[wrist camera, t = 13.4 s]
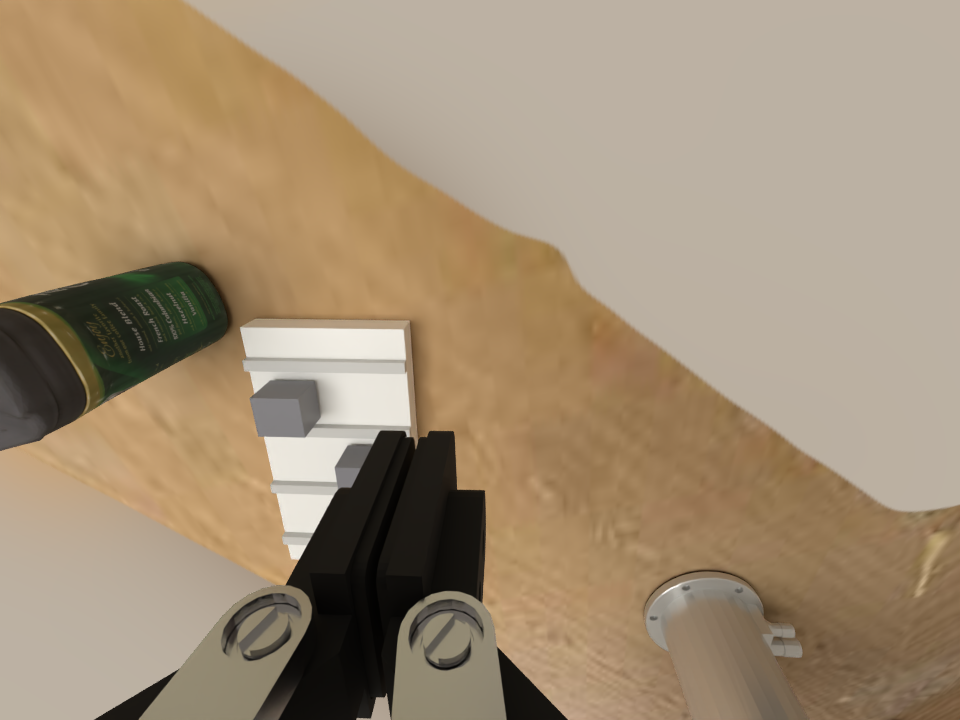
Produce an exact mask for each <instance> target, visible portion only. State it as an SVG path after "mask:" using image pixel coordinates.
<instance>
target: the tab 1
mask: <svg viewBox="0 0 960 720" xmlns="http://www.w3.org/2000/svg"><path fill="white" fill-rule="evenodd" d="M250 402H251V406H252V410H253V415H254V419H255V424H256V428H257V432H258V436H259V437H297V438H305V437H306V436H307V435H308V433H309V432H310V431H311V429H312V428H313V427H314V426H315V424H316V423H317V422H318V420H319V419H320V418H321V415H320V409H319V403H318V396H317V390H316V384H315V381H286V380H270V381H269V382H268V383H267V384H265V385H264V386H263V387H262V388H261V389H260V390H258V391H257V392H256V393H255V394H254V395H253V396H252V397H250Z"/></svg>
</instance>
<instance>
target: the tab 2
mask: <svg viewBox="0 0 960 720" xmlns="http://www.w3.org/2000/svg"><path fill="white" fill-rule="evenodd" d="M371 447H372V446H357V445H347V447H346V449H345V451H344V452H343V454H342V456H341V457H340V459H339V461H338V462H337V464H336V466H335V473H336V480H337V486H338V489H339V488H341V487H348V488H351V487H352V485H353V483H354V481H355V479H356V477H357V475H358V473H359V471H360V469H361V467H362V465H363V463H364V461H365V459H366V457H367V455H368V453H369V451H370V449H371Z"/></svg>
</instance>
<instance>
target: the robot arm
mask: <svg viewBox="0 0 960 720" xmlns="http://www.w3.org/2000/svg"><path fill="white" fill-rule="evenodd" d="M485 540H486V507H485V490H457V477H456V456H455V436H454V432H453V431H429V433H428V436H427V437H420V438H419V441H418V444H417V447H416V448H415V440H414V437H407V435H406V432H405V431H395V430H381V431H380V432H379V433H378V435H377V437H376V439H375V441H374V443H373V445H372V447H371V449H370V451H369V453H368V455H367V457H366V459H365V461H364V463H363V465H362V467H361V469H360V471H359V473H358V475H357V477H356V479H355V481H354V483H353V485H352V487H351V488H348V487H341V488H339V489H338V490H337V491H336V493H335V494H334V496H333V498H332V500H331V502H330V504H329V505H328V507H327V509H326V511H325V513H324V515H323V517H322V518H321V520H320V522H319V524H318V526H317V528H316V530H315V531H314V533H313V535H312V537H311V539H310V541H309V543H308V544H307V546H306V548H305V550H304V552H303V554H302V556H301V557H300V559H299V561H298V563H297V565H296V567H295V569H294V570H293V572H292V574H291V576H290V578H289V580H288V581H287V583H286V585H285V586H283V585H276V586H272V587H267V588H263V589H260V590H258V591H256V592H254V593H251V594H249V595H247V596H246V597H244V598H243V599H241V600H240V601H239V602H237V603H235V604H234V605H233V606H232V607H231V608H230V609H229V610H228V611H227V612H226V613H225V614H224V615H223V616H222V617H221V618H220V620H219V621H218V622H217V623H216V624H215V626H214V627H213V628H212V630H211V631H210V632H209V633H208V634H207V636H206V637H205V638H204V639H203V641H202V642H201V643H200V644H199V646H198V647H197V648H196V649H195V650H194V652H193V653H192V654H191V655H190V657H189V658H188V659H187V660H186V662H185V663H184V664H183V665H182V667H181V668H180V669H178V670H177V671H175V672H173V673H172V674H170V675H168V676H167V677H165V678H163V679H162V680H160V681H159V682H157V683H155V684H153V685H152V686H150V687H148V688H147V689H145V690H143V691H141V692H140V693H138V694H137V695H135V696H134V697H131V698H130V699H128V700H126V701H125V702H123V703H122V704H120V705H118V706H116V707H115V708H113V709H111V710H110V711H108V712H106V713H105V714H103V715H101V716H100V717H98V718H96V719H95V720H356V718H371V716H372V712H373V708H374V704H375V700H376V697H385V696H386V693H387V697H388V704H389V710H390V717H391V720H568V719H567V718H566V717H565V716H564V715H563V714H562V713H561V712H560V711H559V710H558V709H557V708H556V707H555V706H554V705H553V704H552V703H551V702H550V701H549V700H548V699H547V698H546V697H545V696H544V695H543V694H542V693H541V692H540V691H539V689H538V688H537V687H536V686H535V685H534V684H533V683H532V682H531V681H530V680H529V679H528V678H527V677H526V676H525V675H524V674H523V673H522V672H521V671H520V670H519V669H518V668H517V667H516V666H515V665H514V664H513V663H512V662H511V660H510V659H509V658H508V657H507V656H506V655H505V654H504V653H503V652H502V651H501V650H500V649H499V648H498V647H497V644H496V636H495V628H494V625H493V621H492V618H491V615H490V613H489V612H488V610H487V609H486V608H485V606H484V605H483V604H482V599H483V582H484V564H485ZM763 615H764V611H763V605H762V603H761V601H760V599H759V597H758V595H757V594H756V592H755V591H754V589H753V588H752V587H751V586H750V585H749V584H748V583H747V582H745V581H743V580H741V579H740V578H738V577H735V576H732V575H730V574H726V573H720V572H707V571H705V572H694V573H690V574H686V575H682V576H679V577H677V578H674V579H672V580H670V581H668V582H667V583H665V584H663V585H662V586H661V587H660V588H658V589H657V590H656V591H655V592H654V593H653V594H652V595H651V597H650V598H649V600H648V602H647V603H646V606H645V610H644V622H645V625H646V629H647V631H648V634H649V636H650V637H651V639H652V640H653V641H654V642H655V643H656V644H657V645H658V646H660V647H661V648H662V649H664V650H666V651H668V652H669V653H670V656H671V659H672V662H673V665H674V668H675V671H676V674H677V677H678V680H679V683H680V686H681V689H682V692H683V695H684V697H685V700H686V703H687V706H688V709H689V712H690V715H691V718H692V720H809V718H808V716H807V714H806V712H805V711H804V709H803V707H802V705H801V703H800V702H799V700H798V698H797V696H796V694H795V693H794V691H793V689H792V687H791V685H790V684H789V682H788V680H787V678H786V676H785V674H784V673H783V671H782V669H781V667H780V665H779V664H778V662H777V660H776V658H775V656H781V657H797V658H801V657H802V647H801V644H800V642H799V641H798V639H797V638H795V629H794V627H793V626H792V624H791V623H778V622H777V623H770V622H769V621H768V620H765V619H764V617H763ZM774 636H776V637H774Z"/></svg>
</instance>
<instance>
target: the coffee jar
mask: <svg viewBox="0 0 960 720" xmlns="http://www.w3.org/2000/svg"><path fill="white" fill-rule="evenodd" d="M227 325H228V318H227V314H226V310H225V307H224V304H223V302H222V300H221V297H220V295H219V294H218V292H217V290H216V288H215V287H214V285H213V284H212V282H211V281H210V280H209V279H208V277H207V276H206V275H205V274H204V273H203V272H202V271H200V270H199V269H198V268H196V267H195V266H193V265H190V264H187V263H183V262H172V263H166V264H160V265H156V266H151V267H147V268H142V269H138V270H134V271H130V272H126V273H122V274H118V275H114V276H110V277H106V278H101V279H97V280H92V281H88V282H83V283H79V284H75V285H70V286H66V287H62V288H58V289H54V290H49V291H45V292H42V293H38V294H34V295H29V296H26V297H22V298H18V299H15V300H11V301H7V302H3V303H0V451H2V450H5V449H9V448H13V447H16V446H20V445H24V444H28V443H32V442H36V441H40V440H41V439H42V438H43V437H44V436H45V435H47V434H49V433H51V432H53V431H55V430H57V429H59V428H61V427H63V426H65V425H67V424H69V423H71V422H73V421H75V420H76V419H78V418H80V417H81V416H83V415H85V414H86V413H88V412H90V411H91V410H93V409H95V408H97V407H98V406H100V405H102V404H103V403H105V402H107V401H109V400H110V399H112V398H114V397H116V396H117V395H119V394H121V393H123V392H125V391H126V390H128V389H130V388H132V387H134V386H135V385H137V384H139V383H141V382H143V381H144V380H146V379H148V378H150V377H152V376H153V375H155V374H157V373H159V372H161V371H162V370H164V369H166V368H168V367H170V366H171V365H173V364H175V363H177V362H179V361H181V360H183V359H185V358H186V357H188V356H190V355H192V354H194V353H196V352H198V351H200V350H202V349H203V348H205V347H207V346H209V345H211V344H213V343H214V342H216V341H218V340H219V339H220V338H222V337H223V335H224V334H225V332H226V330H227Z"/></svg>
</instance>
